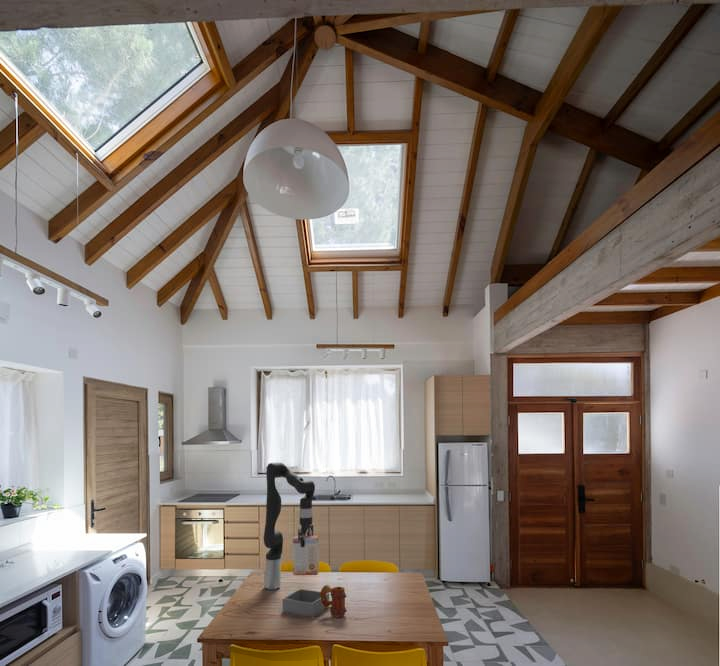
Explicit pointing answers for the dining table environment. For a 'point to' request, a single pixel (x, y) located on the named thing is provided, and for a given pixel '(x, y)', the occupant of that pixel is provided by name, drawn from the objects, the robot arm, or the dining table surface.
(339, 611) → the mug
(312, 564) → the cracker box
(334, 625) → the dining table surface
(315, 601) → the bin
